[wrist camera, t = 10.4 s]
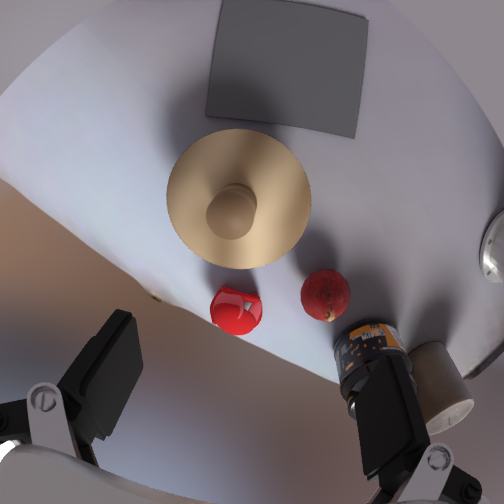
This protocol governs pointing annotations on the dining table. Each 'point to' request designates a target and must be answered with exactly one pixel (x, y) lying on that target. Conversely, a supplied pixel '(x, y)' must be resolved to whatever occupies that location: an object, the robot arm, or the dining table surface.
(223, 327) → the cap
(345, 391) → the supplement container
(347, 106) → the mat
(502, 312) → the dining table surface
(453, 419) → the pillar candle
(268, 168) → the lid
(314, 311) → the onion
